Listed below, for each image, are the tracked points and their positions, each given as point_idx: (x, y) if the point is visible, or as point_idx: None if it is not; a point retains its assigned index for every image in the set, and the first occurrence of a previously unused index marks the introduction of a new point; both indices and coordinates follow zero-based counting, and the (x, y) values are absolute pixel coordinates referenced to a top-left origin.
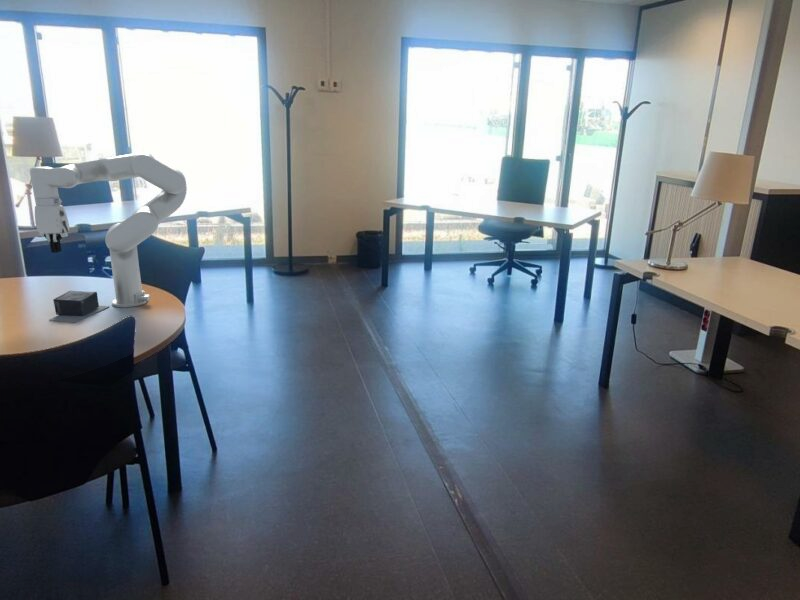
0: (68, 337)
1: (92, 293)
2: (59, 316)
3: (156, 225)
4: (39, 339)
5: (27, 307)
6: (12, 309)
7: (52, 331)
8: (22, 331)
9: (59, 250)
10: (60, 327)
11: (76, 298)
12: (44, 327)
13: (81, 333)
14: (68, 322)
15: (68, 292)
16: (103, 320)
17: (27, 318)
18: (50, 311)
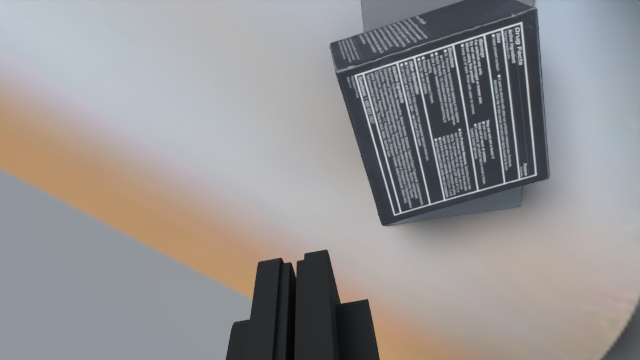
0: (599, 305)
1: (532, 52)
2: None
3: None
4: (511, 346)
5: (104, 136)
6: (76, 185)
7: (497, 290)
8: (390, 325)
9: (335, 289)
10: (495, 254)
11: (496, 164)
12: (433, 275)
13: (623, 266)
14: (486, 208)
15: (361, 106)
16: (628, 128)
17: (270, 237)
18: (273, 134)
